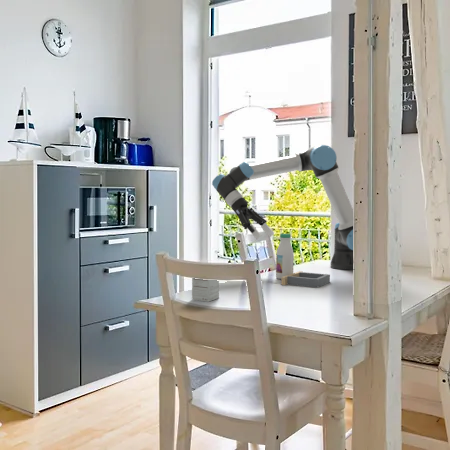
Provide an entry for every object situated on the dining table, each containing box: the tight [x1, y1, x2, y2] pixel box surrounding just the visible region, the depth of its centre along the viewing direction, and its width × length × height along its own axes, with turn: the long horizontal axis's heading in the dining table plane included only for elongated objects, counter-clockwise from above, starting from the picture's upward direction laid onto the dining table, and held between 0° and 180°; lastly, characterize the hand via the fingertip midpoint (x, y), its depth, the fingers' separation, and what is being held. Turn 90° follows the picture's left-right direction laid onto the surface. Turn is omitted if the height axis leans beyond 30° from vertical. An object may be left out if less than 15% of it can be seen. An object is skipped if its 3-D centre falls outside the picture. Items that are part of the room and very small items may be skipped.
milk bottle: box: [275, 233, 295, 280], centre depth 249 cm, size 8×8×20 cm
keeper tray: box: [280, 270, 331, 288], centre depth 238 cm, size 20×15×3 cm
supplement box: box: [191, 277, 220, 303], centre depth 201 cm, size 7×7×13 cm
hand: (265, 236), depth 252 cm, fingers open, 13 cm apart
